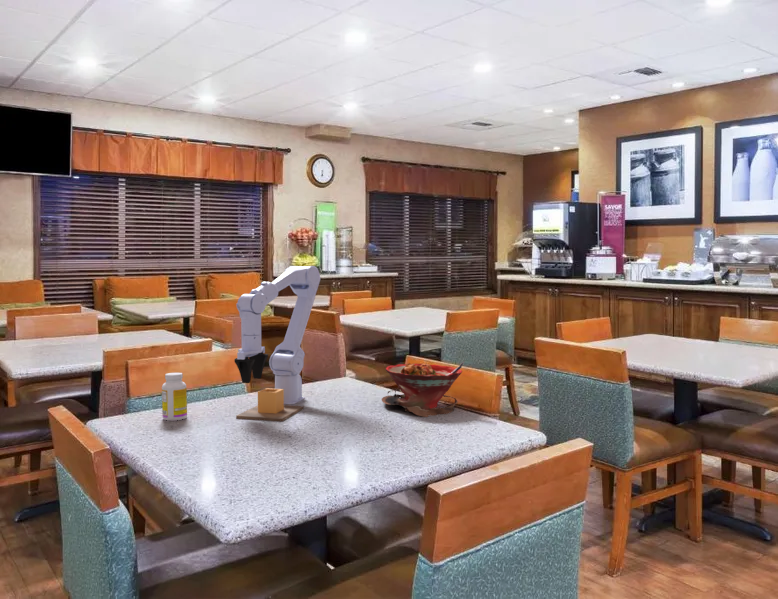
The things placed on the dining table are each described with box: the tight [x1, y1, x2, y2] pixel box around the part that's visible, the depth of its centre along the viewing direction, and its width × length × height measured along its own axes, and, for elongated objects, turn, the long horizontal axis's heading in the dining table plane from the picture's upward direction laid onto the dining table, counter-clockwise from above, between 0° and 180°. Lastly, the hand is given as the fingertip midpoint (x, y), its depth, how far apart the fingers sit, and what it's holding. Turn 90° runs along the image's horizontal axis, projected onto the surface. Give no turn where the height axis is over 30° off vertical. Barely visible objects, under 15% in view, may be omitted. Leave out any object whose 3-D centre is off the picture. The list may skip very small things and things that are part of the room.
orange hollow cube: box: [257, 387, 285, 413], centre depth 192 cm, size 6×6×6 cm
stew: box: [381, 360, 465, 418], centre depth 199 cm, size 28×24×16 cm
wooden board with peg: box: [235, 404, 305, 422], centre depth 192 cm, size 16×14×6 cm
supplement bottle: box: [161, 372, 188, 422], centre depth 186 cm, size 7×7×13 cm
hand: (251, 380), depth 194 cm, fingers open, 7 cm apart
